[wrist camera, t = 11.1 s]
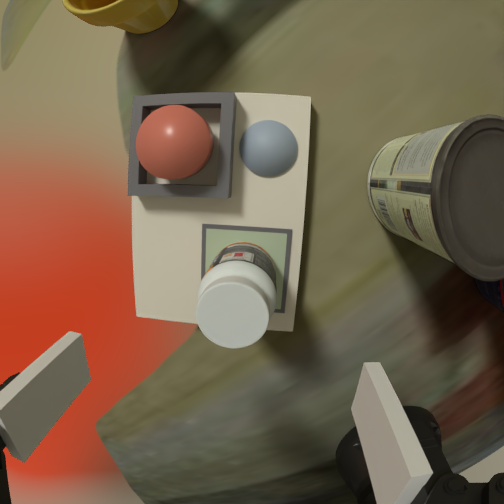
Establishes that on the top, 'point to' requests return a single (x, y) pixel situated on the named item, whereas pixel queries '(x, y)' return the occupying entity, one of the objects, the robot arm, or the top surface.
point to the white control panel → (221, 200)
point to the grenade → (492, 291)
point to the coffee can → (446, 193)
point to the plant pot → (124, 13)
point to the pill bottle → (237, 295)
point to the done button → (174, 142)
